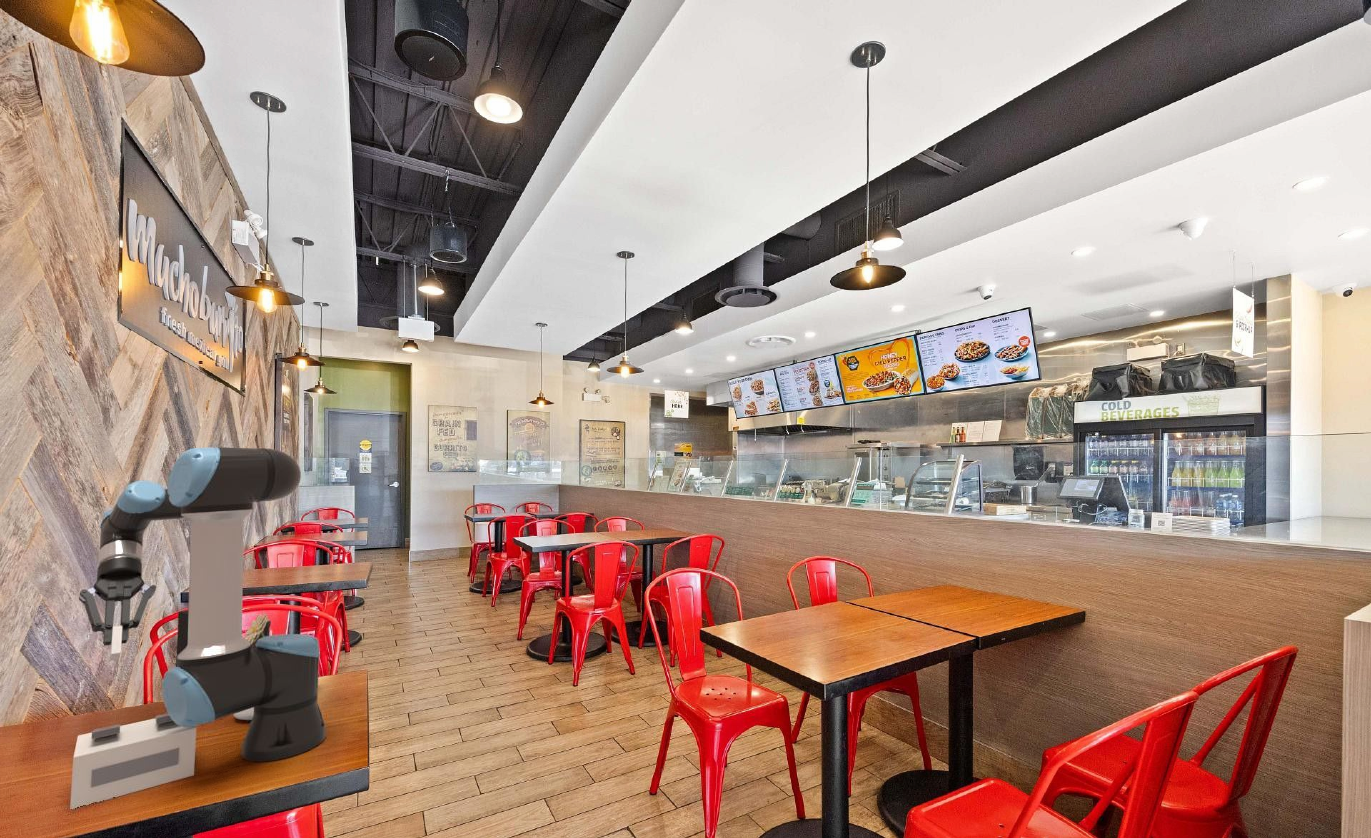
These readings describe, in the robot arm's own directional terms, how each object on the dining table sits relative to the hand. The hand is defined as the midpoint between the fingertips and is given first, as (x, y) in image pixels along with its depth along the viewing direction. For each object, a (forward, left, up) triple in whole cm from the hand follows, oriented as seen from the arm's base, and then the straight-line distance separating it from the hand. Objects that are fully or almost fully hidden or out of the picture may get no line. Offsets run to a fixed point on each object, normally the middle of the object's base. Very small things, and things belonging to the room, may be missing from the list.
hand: (115, 656), depth 126 cm
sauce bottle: (+2, -33, -21) cm, 39 cm away
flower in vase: (-10, -25, -21) cm, 34 cm away
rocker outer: (-13, +8, -10) cm, 19 cm away
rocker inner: (-18, 0, -10) cm, 20 cm away
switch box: (-15, +4, -21) cm, 26 cm away
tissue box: (+8, -23, -21) cm, 32 cm away
